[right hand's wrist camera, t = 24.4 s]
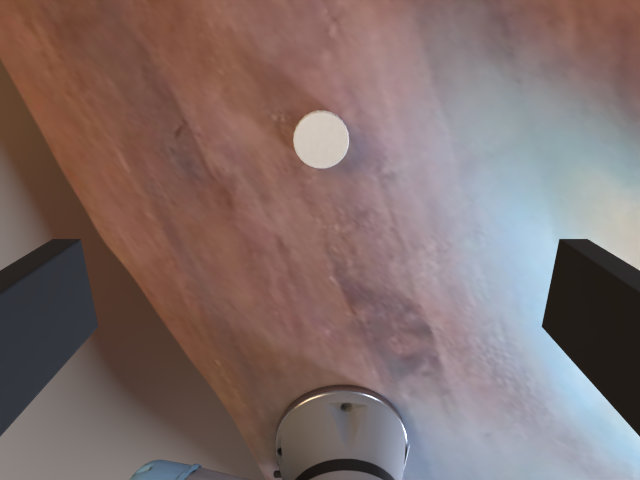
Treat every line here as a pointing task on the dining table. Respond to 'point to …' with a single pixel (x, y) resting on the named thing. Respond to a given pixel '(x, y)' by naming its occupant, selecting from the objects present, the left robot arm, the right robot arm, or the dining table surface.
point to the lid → (321, 139)
